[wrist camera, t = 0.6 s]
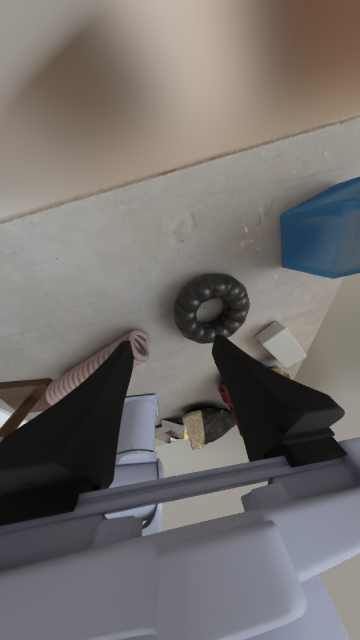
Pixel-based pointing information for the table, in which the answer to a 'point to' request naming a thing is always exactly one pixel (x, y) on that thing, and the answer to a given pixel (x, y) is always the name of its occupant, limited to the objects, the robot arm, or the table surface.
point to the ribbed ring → (200, 293)
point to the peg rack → (23, 401)
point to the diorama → (169, 431)
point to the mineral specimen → (207, 425)
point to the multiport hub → (281, 344)
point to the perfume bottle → (324, 233)
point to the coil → (95, 366)
